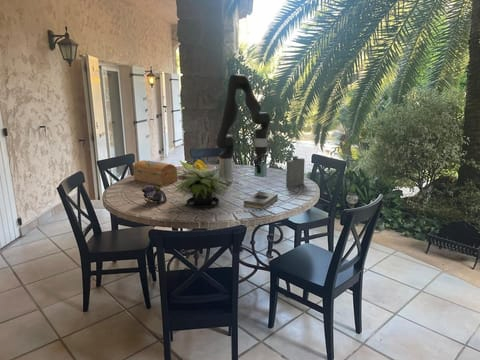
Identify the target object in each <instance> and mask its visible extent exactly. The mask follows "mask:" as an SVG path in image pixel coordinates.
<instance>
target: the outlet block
mask: <svg viewBox="0 0 480 360" xmlns="http://www.w3.org/2000/svg"><path fill="white" fill-rule="evenodd" d="M278 195H279V194H278V193H272V192H265V191H264V192H263V191H258V192H256V193H254V194H252V195H251V196H249V197H247V198H246V199H244V200H243V206H245V207H250V208H258V209H265V208H266V207H268V206H270V205H271V204H272V203H274V202H276V201H277V200H278V197H279V196H278Z"/></svg>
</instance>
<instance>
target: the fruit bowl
mask: <svg viewBox="0 0 480 360" xmlns="http://www.w3.org/2000/svg"><path fill="white" fill-rule="evenodd" d="M179 162H180V165H182V168H181V172H183V173H184V175H185V176H186V175H187V174H188V171H189V170H191V168H185V167H188V166H191V167H193V165H195V169H198V170H200V173H201V174H204V173H203V172H206V171H209V172H212V171H213V170H214V171H215V170H216V169H217V167H216V166H215V165H212V164H206V163H205V162H204V161H203V160H202V159H197V160H196V161H195V162H194V163H193V164H189V163H187V162H185V161H182V160H179ZM183 164H184V165H187V166H184V165H183ZM185 169H189V170H185ZM209 172H208V173H209ZM215 172H216V171H215Z"/></svg>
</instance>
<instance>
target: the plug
mask: <svg viewBox="0 0 480 360" xmlns="http://www.w3.org/2000/svg"><path fill="white" fill-rule="evenodd" d="M256 165H257V164H256ZM259 165H260V164H259ZM267 165H268V164H267V162H266V163H262V164H261V167H260V168H261V173H260V174H259V173H257V167H255V166H254V177H256V178H257V177H259V178H265V177H267V170H268V169H267V168H268V167H267Z"/></svg>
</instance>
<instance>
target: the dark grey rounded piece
mask: <svg viewBox="0 0 480 360" xmlns="http://www.w3.org/2000/svg"><path fill="white" fill-rule="evenodd" d="M141 192H143V197H144V201H145V202H146V203H151V201H152V202H156V205H160V204H161V202H162V200H163V202H164V204H166V203H167V201H168V200H167V196H166V194H165V192H164V191H163V190H162V189H161V186H159V185H156V184H151V183H147V184H145V185H143V186H142V189H141Z"/></svg>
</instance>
